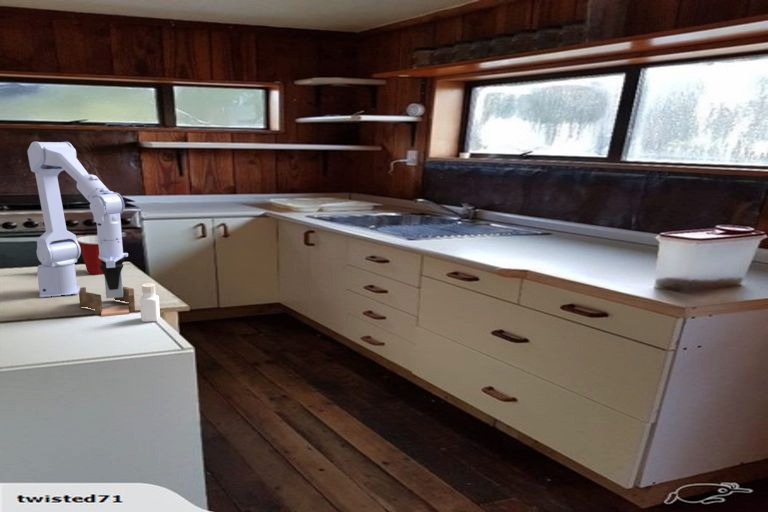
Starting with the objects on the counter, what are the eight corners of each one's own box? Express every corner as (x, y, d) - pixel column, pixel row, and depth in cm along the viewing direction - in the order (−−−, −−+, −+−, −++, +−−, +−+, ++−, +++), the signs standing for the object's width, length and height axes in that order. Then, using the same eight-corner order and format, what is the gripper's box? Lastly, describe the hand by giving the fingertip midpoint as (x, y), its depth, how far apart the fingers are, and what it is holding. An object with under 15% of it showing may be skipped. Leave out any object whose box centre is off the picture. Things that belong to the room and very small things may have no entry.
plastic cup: (109, 277, 170) (106, 241, 167) (74, 277, 169) (70, 241, 166) (121, 268, 181) (118, 235, 178) (88, 268, 179) (84, 234, 176)
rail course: (78, 316, 135) (76, 300, 134) (82, 302, 145) (80, 287, 144) (134, 310, 140) (133, 295, 139) (134, 298, 150) (133, 283, 149)
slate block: (106, 298, 139) (103, 269, 137) (107, 294, 142) (104, 266, 141) (122, 297, 141) (120, 268, 139) (123, 292, 144) (121, 265, 142)
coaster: (101, 316, 135) (101, 314, 135) (102, 309, 140) (102, 307, 140) (129, 313, 138) (128, 311, 138) (129, 306, 143) (129, 304, 143)
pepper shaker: (157, 322, 133) (155, 287, 131) (140, 322, 132) (138, 287, 130) (160, 316, 137) (158, 282, 135) (144, 317, 136) (142, 282, 134)
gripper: (126, 243, 133) (130, 293, 136) (127, 232, 146) (130, 278, 149) (95, 244, 130) (99, 295, 133) (98, 234, 143) (102, 280, 146)
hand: (114, 286), depth 141 cm, fingers closed on slate block, 4 cm apart
